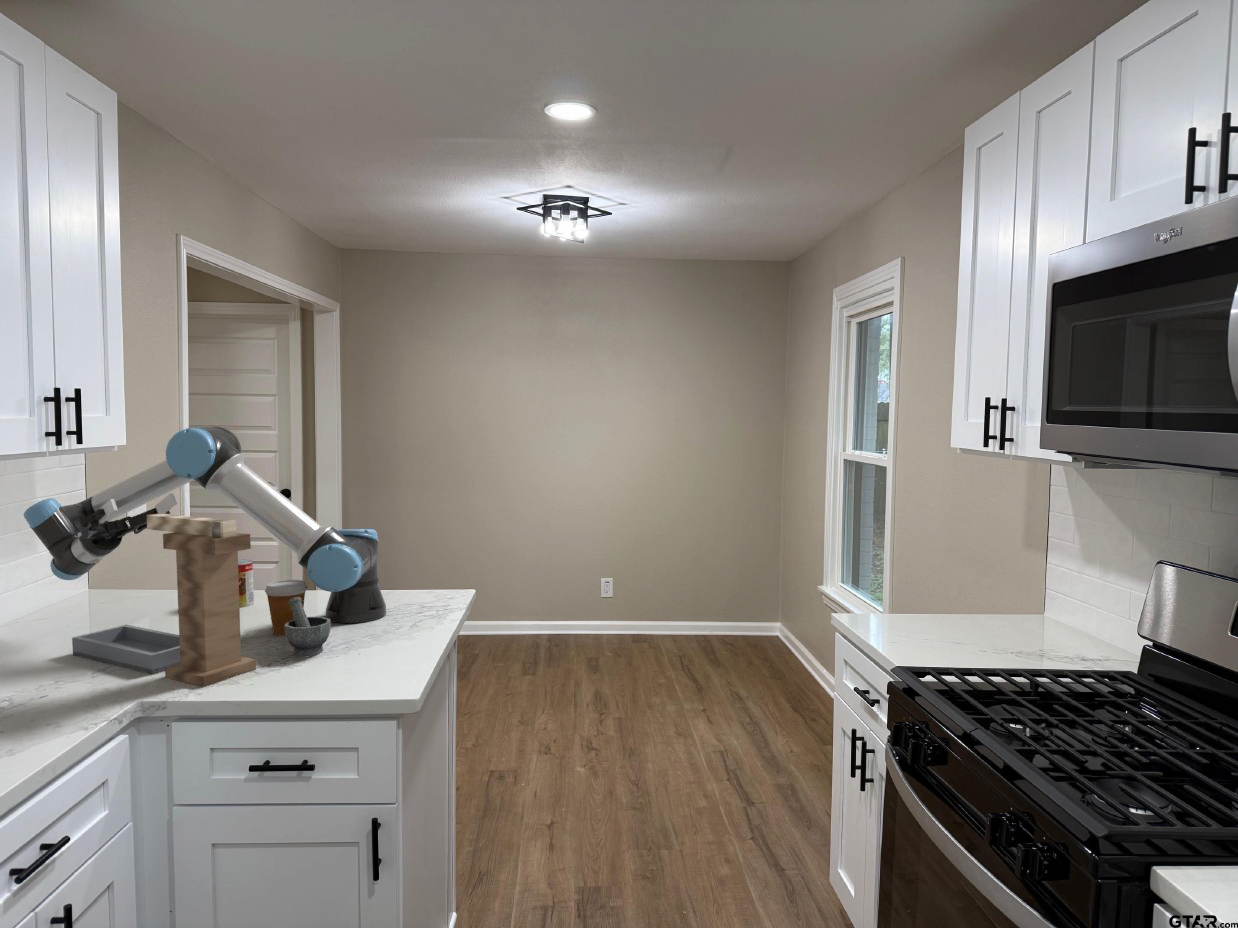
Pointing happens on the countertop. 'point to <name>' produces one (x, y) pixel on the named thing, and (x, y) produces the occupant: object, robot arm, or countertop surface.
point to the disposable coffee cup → (283, 601)
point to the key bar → (192, 525)
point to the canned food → (245, 582)
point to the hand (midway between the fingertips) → (145, 501)
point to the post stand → (208, 607)
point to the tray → (130, 648)
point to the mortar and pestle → (306, 630)
